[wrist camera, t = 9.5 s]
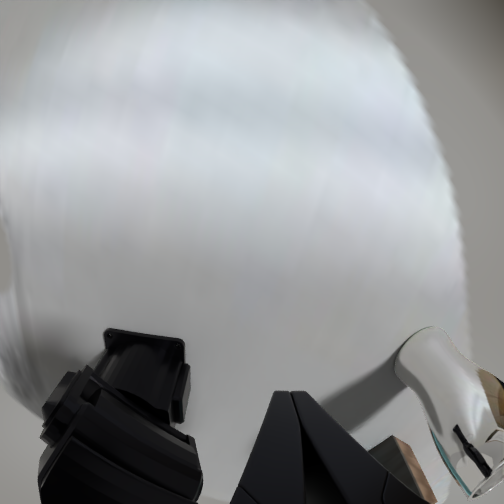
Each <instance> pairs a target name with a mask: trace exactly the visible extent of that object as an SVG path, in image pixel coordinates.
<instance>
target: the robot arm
mask: <svg viewBox="0 0 504 504" xmlns="http://www.w3.org/2000/svg"><path fill="white" fill-rule="evenodd" d="M109 333H110V334H111V335H112V336H110V335H109ZM104 337H105V343H106V349H107V350H106V352H105V353H104V355H103V356H102V358H101V360H100V361H99V363H98V364H97V366H96V367H95V369H94V371H93V369H91V368H90V367H89V366H88V365H86V367H85V368H84V369H83V370H82V372H81V371H80V370H79V371H78V372H77V373H74V372H67V373H66V374H65V376H64V377H63V379H62V380H61V381H60V383H59V384H58V386H57V387H56V388H55V390H54V391H53V393H52V394H51V395H50V397H49V398H48V400H47V401H46V403H45V404H44V406H43V407H42V413H43V417H44V423H43V425H42V427H43V428H44V429H43V431H42V433H41V435H40V439H42V440H43V441H44V442H45V443H47V444H48V445H47V447H46V449H45V450H44V452H43V454H42V456H41V457H40V462H39V470H38V487H39V493H40V500H41V504H198V503H197V502H196V501H197V500H198V498H199V496H200V494H201V491H202V487H203V473H202V470H201V466H200V462H199V458H198V453H197V448H196V444H195V439H194V438H193V437H191V436H189V435H185V434H183V433H181V432H180V431H178V430H176V429H175V424H176V423H178V424H181V423H183V422H184V419H185V414H186V409H187V404H188V399H189V394H190V389H191V385H190V366H189V365H188V364H186V363H185V343H184V341H183V340H182V339H179V338H172V337H164V336H157V335H150V334H143V333H137V332H130V331H124V330H119V329H113V328H108V329H107V330H106V331H105V333H104ZM175 344H179V345H180V347H178V346H176V345H175ZM230 504H431V503H429V502H428V501H426V500H425V499H423V498H422V497H420V496H419V495H417V494H416V493H415V492H413V491H412V490H411V489H409V488H408V487H407V486H406V485H405V484H403V483H402V482H401V481H400V480H399V479H397V478H396V477H395V476H394V475H393V474H392V473H390V472H389V473H388V470H387V469H386V468H385V467H384V466H383V465H382V464H380V463H379V462H378V461H377V460H376V459H375V458H374V457H373V456H372V455H371V454H370V453H369V452H367V451H366V450H365V449H364V448H363V447H362V446H361V445H360V444H359V443H358V442H357V441H356V440H355V439H354V438H353V437H352V436H351V435H350V434H349V433H347V432H346V431H345V430H344V429H343V428H342V427H341V426H340V425H339V424H338V423H337V422H336V421H335V420H334V419H333V418H332V417H331V416H330V415H329V414H328V413H327V412H326V411H325V410H324V409H323V408H322V407H321V406H320V405H319V404H318V403H317V402H316V401H315V400H314V399H313V398H312V397H311V396H310V395H309V394H308V393H307V392H306V391H291V392H289V391H274V393H273V395H272V398H271V401H270V404H269V407H268V409H267V412H266V415H265V418H264V420H263V423H262V426H261V428H260V431H259V434H258V436H257V439H256V442H255V444H254V447H253V449H252V452H251V454H250V457H249V460H248V462H247V464H246V467H245V469H244V472H243V474H242V477H241V479H240V482H239V484H238V487H237V488H236V490H235V493H234V495H233V497H232V500H231V502H230Z"/></svg>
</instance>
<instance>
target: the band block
mask: <svg viewBox="0 0 504 504" xmlns="http://www.w3.org/2000/svg"><path fill="white" fill-rule="evenodd" d="M368 452H369V453H370V454H371V455H372V456H373V457H374V458H375V459H376V460H377V461H378V462H379V463H380V464H382V465H383V466H384V467H385V468H386V469H387V470H388V473H389V472H390V473H392V474H393V475H394V476H395V477H396V478H397V479H399V480H400V481H401V482H402V483H403V484H405V485H406V486H407V487H408V488H409V489H411V490H412V491H413V492H415V493H416V494H417V495H419V496H420V497H422V498H423V499H425V500H426V501H428V502H429V503H431V504H435V503H437V500H436V497H435V495H434V493H433V491H432V489H431V487H430V485H429V483H428V481H427V479H426V477H425V475H424V473H423V471H422V469H421V467H420V465H419V463H418V461H417V459H416V457H415V455H414V453H413V451H412V449H411V447H410V446H409V445H408V444H406V443H404V442H403V441H401V440H399V439H398V438H396V437H394V436H393V435H392V436H391V437H389V438H388V439H386V440H385V441H383V442H382V443H381V444H379V445H378V446H376V447H375V448H373V449H372V450H370V451H368Z"/></svg>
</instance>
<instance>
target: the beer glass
mask: <svg viewBox="0 0 504 504" xmlns="http://www.w3.org/2000/svg"><path fill="white" fill-rule="evenodd" d="M395 373H396V375H397V377H398V378H399V379H400V380H401V381H402V382H403V383H404V384H405V385H406V386H407V387H409V388H410V389H411V390H412V391H413V393H414V394H415V395H416V397H417V399H418V401H419V402H420V405H421V407H422V410H423V413H424V415H425V418H426V421H427V424H428V427H429V430H430V433H431V436H432V438H433V441H434V443H435V446H436V448H437V451H438V453H439V455H440V457H441V459H442V460H443V462H444V464H445V466H446V467H447V469H448V471H449V472H450V474H451V475H452V477H453V478H454V480H455V481H456V483H457V484H458V486H459V487H460V488H461V490H462V491H463V493H464V494H465V495H466V497H467V499H468V501H473V500H475V499H477V498H479V497H481V496H483V495H485V494H486V493H487V492H489V491H491V490H492V489H494V488H495V487H496V486H498V485H499V484H500V483H502V482H503V481H504V382H502V381H501V380H500V379H498V378H497V377H496V376H494V375H493V374H491V373H490V372H488V371H486V370H485V369H483V368H481V367H480V366H478V365H477V364H475V363H473V362H472V361H470V360H469V359H467V358H466V357H465V356H464V355H462V354H461V353H460V352H459V350H458V349H457V348H456V347H455V345H454V343H453V342H452V340H451V339H450V337H449V335H448V334H447V333H446V332H445V330H443V329H442V328H440V327H428V328H425V329H423V330H421V331H419V332H417V333H416V334H414V335H413V336H412V337H411V338H410V339H409V340H408V341H407V342H406V343H405V344H404V345H403V346H402V348H401V349H400V351H399V353H398V355H397V357H396V360H395Z"/></svg>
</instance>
